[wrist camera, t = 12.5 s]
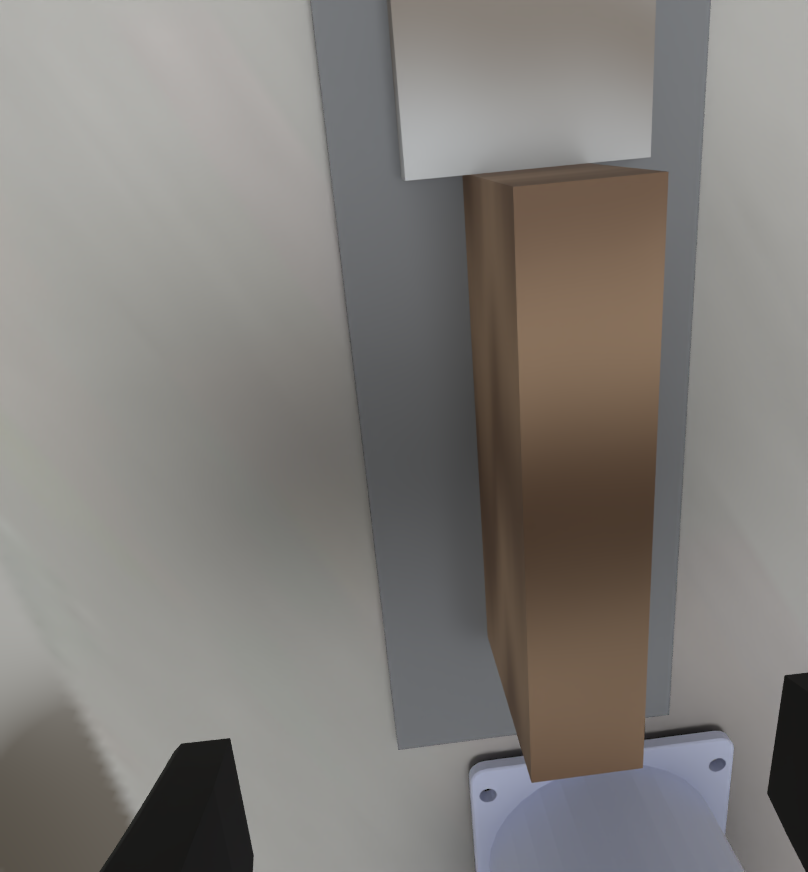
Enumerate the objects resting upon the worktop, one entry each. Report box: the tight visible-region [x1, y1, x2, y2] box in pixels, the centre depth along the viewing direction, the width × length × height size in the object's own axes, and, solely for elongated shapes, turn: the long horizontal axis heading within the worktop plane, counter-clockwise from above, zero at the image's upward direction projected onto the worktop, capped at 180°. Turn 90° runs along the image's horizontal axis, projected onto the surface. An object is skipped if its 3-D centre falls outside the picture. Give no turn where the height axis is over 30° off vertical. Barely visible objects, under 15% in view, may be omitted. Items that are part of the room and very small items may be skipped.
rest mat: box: [311, 0, 711, 750], centre depth 18 cm, size 21×8×1 cm, turn 5°
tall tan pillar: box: [387, 0, 669, 783], centre depth 15 cm, size 16×5×5 cm, turn 5°
